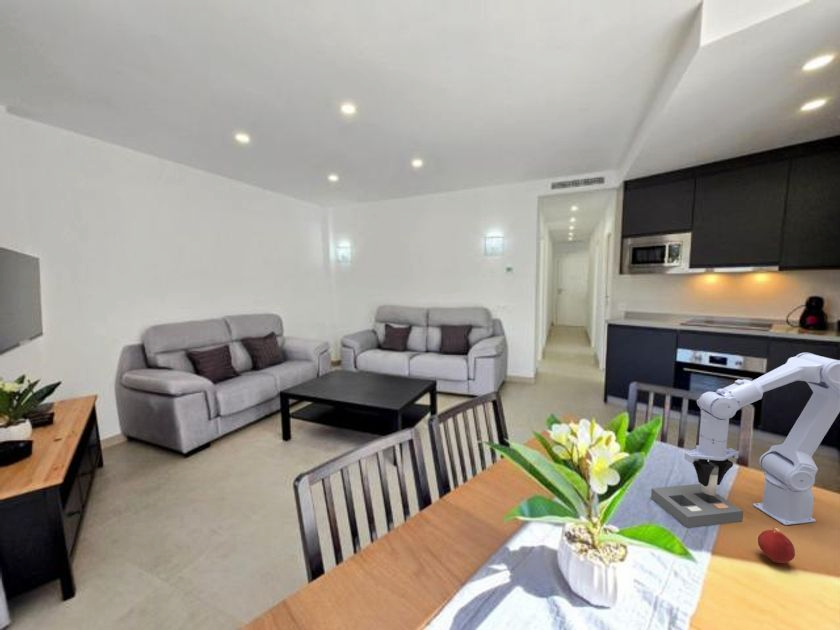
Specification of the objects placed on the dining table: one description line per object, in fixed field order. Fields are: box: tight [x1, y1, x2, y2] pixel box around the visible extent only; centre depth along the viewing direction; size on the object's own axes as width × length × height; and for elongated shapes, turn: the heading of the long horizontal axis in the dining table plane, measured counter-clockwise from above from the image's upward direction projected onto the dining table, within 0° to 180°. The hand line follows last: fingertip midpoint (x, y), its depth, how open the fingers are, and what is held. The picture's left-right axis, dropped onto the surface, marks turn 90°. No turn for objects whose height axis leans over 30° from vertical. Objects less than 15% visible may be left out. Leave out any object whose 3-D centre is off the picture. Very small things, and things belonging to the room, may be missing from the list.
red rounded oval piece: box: [757, 527, 796, 564], centre depth 78 cm, size 6×6×8 cm
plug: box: [700, 461, 719, 496], centre depth 95 cm, size 3×3×8 cm
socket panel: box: [650, 483, 744, 529], centre depth 96 cm, size 16×12×3 cm
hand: (709, 483), depth 96 cm, fingers closed on plug, 3 cm apart
